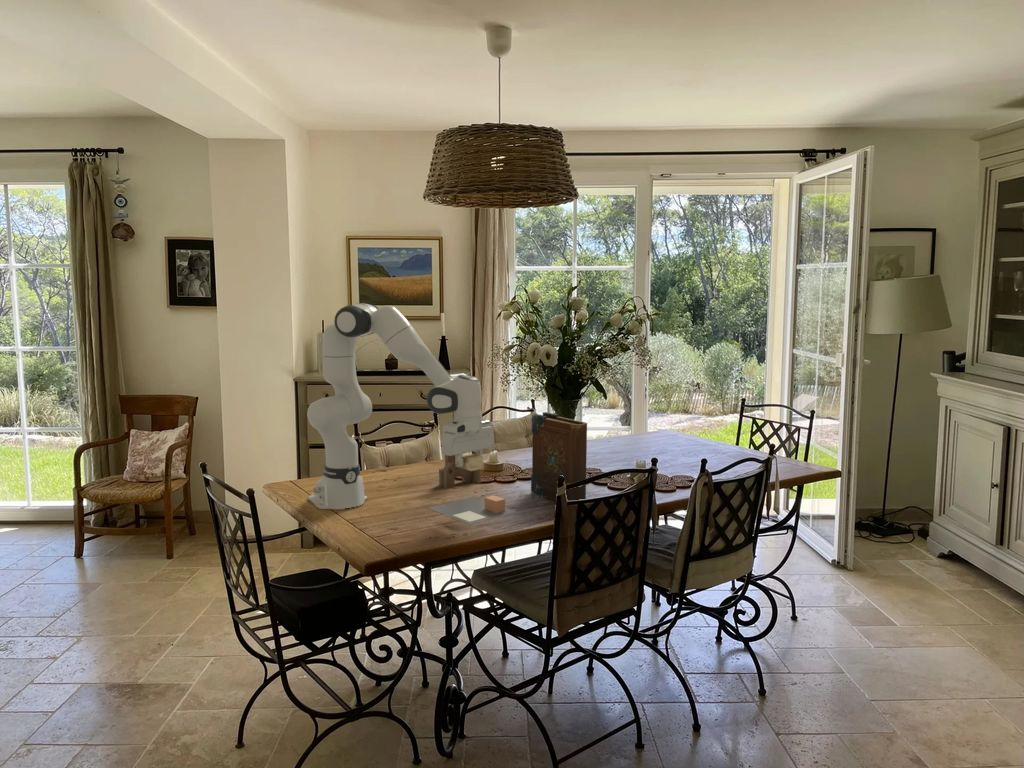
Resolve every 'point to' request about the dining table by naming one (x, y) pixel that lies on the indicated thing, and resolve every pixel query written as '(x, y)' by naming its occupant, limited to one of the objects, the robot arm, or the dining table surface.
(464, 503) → the build board
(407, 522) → the dining table surface
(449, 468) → the wooden toy
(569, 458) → the decorative book
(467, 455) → the brick base
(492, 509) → the brick top
